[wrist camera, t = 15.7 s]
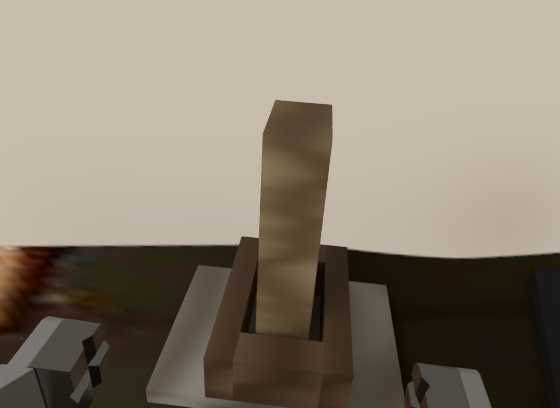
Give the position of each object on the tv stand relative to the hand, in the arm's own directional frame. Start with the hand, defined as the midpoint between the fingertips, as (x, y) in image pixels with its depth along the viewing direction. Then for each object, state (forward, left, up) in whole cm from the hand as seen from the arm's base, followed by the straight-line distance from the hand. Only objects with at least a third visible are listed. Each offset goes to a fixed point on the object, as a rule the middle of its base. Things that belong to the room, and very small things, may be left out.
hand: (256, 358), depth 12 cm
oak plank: (0, +13, -12) cm, 17 cm away
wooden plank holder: (0, +13, -13) cm, 18 cm away
